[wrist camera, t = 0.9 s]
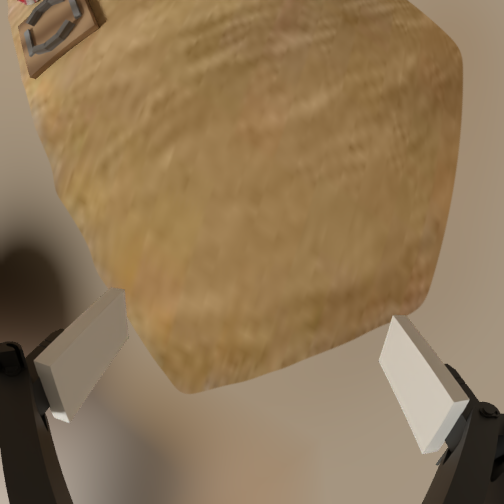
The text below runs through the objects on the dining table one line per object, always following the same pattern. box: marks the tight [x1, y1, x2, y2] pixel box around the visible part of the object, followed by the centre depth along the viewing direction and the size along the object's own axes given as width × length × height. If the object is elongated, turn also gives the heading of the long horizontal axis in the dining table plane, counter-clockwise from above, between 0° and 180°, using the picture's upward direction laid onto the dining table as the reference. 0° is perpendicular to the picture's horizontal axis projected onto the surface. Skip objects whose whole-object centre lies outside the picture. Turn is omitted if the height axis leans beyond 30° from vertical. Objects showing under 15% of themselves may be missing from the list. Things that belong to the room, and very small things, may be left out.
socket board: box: [18, 0, 99, 79], centre depth 30 cm, size 13×13×3 cm
